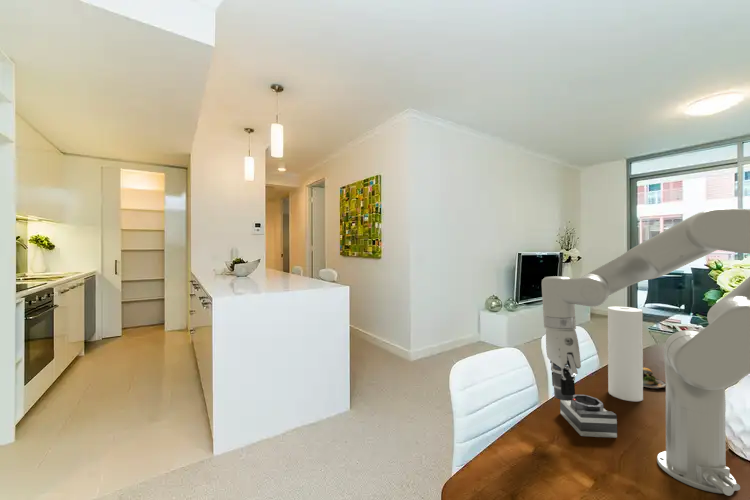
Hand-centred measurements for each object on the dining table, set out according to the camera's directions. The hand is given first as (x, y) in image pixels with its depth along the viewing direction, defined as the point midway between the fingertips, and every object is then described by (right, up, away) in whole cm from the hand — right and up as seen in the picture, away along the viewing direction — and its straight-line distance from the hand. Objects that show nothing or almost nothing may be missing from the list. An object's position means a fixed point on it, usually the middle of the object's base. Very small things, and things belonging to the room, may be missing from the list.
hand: (563, 389), depth 87 cm
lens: (0, -2, 0) cm, 2 cm away
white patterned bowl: (+49, -12, +32) cm, 60 cm away
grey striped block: (+10, -12, +6) cm, 17 cm away
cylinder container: (+35, -12, +24) cm, 44 cm away
